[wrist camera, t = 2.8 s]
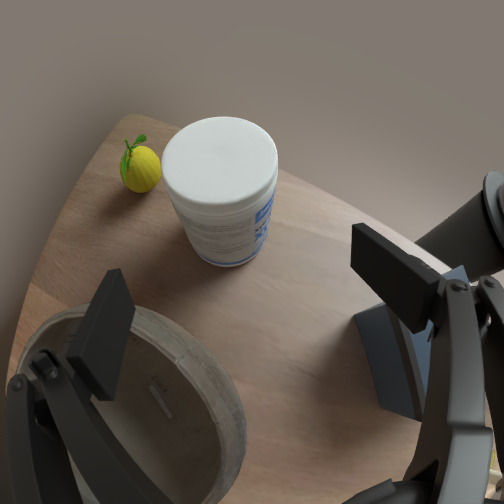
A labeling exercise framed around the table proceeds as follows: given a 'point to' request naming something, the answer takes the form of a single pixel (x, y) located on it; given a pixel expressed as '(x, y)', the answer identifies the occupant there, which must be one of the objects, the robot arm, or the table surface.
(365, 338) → the blue storage bin
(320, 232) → the table surface
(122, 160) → the lemon
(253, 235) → the supplement tub
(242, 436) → the bowl
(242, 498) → the table surface
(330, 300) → the table surface
